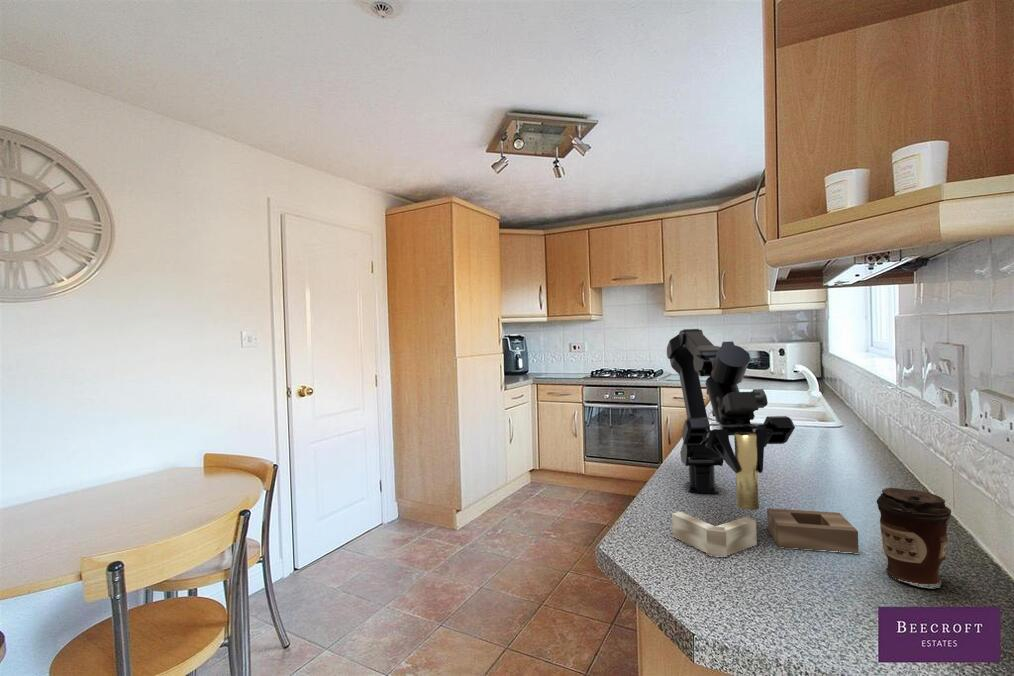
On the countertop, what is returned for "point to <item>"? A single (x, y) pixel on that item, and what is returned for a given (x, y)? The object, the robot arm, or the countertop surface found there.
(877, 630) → the countertop surface
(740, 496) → the axle
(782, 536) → the bore block
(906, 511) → the coffee cup
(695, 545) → the v block
